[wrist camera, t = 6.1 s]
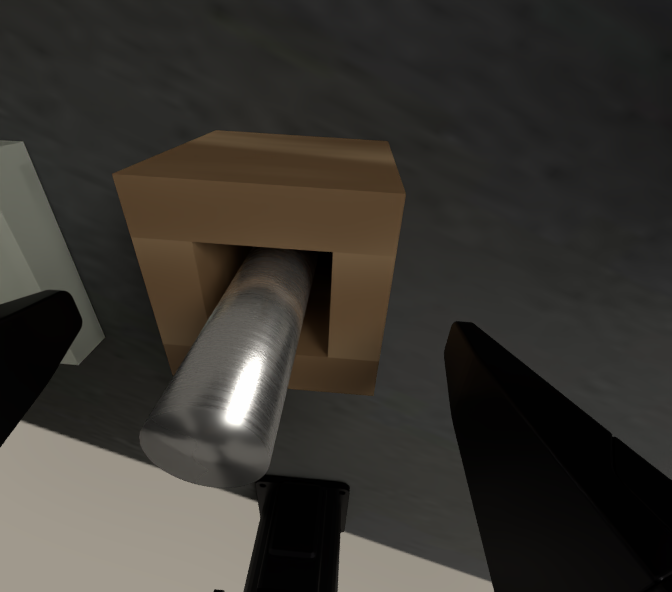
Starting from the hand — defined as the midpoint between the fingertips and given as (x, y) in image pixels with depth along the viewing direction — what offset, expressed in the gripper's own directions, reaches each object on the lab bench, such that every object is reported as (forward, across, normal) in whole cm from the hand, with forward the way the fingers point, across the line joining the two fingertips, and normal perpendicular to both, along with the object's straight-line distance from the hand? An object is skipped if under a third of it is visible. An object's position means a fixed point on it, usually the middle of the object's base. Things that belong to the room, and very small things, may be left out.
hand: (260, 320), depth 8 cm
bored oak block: (+7, 0, 0) cm, 7 cm away
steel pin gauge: (+7, 0, 0) cm, 7 cm away
